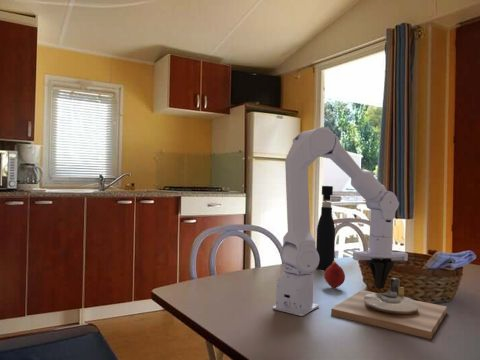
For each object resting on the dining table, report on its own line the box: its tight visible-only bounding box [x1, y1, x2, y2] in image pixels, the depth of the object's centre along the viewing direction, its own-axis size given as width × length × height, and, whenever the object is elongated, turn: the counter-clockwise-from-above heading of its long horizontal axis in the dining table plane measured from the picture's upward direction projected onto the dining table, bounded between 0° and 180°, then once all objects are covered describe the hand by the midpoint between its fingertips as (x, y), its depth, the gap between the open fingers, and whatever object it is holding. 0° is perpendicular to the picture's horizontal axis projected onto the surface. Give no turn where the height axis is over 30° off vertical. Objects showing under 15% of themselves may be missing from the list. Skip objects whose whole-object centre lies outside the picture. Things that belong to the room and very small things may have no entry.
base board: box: [331, 286, 448, 340], centre depth 91 cm, size 21×21×5 cm
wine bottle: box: [315, 185, 336, 272], centre depth 139 cm, size 6×6×30 cm
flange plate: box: [364, 277, 419, 314], centre depth 93 cm, size 16×12×4 cm
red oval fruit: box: [323, 260, 346, 290], centre depth 112 cm, size 6×6×8 cm
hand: (379, 287), depth 101 cm, fingers closed
